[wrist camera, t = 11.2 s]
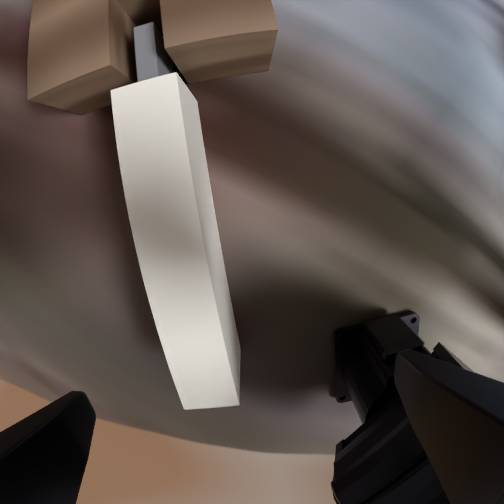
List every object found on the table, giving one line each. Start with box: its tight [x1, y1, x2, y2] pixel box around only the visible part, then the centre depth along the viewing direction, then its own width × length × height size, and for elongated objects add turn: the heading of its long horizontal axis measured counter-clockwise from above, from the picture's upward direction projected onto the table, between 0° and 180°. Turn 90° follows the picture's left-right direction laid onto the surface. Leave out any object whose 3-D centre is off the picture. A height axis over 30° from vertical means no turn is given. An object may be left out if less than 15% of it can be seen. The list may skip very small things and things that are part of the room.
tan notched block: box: [27, 0, 278, 115], centre depth 13 cm, size 10×12×6 cm
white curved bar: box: [111, 22, 241, 409], centre depth 16 cm, size 20×3×6 cm, turn 9°
